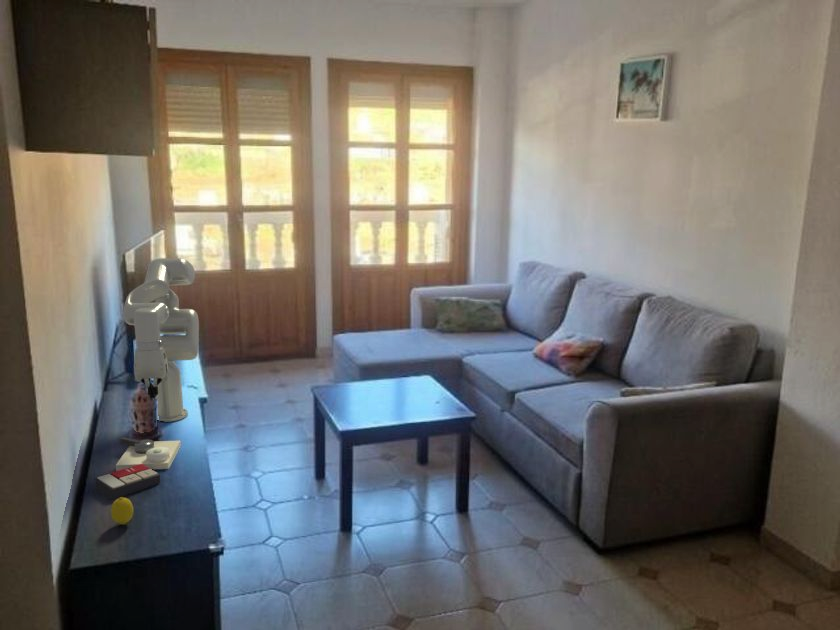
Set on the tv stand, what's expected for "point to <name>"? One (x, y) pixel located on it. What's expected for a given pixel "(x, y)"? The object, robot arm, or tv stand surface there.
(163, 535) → the tv stand surface
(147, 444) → the gray scoop
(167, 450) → the base
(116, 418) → the tv stand surface
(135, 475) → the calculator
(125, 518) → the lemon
